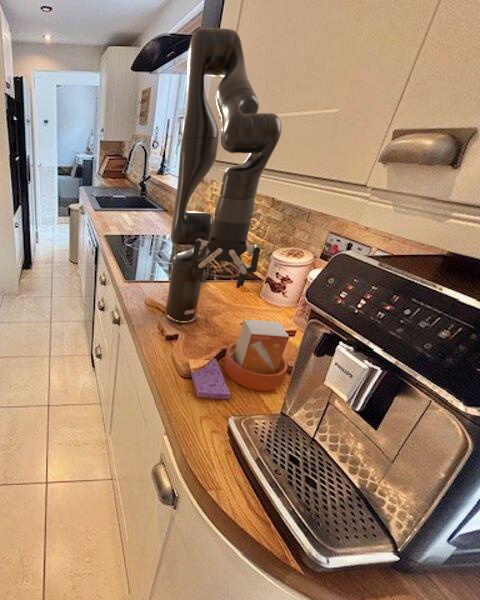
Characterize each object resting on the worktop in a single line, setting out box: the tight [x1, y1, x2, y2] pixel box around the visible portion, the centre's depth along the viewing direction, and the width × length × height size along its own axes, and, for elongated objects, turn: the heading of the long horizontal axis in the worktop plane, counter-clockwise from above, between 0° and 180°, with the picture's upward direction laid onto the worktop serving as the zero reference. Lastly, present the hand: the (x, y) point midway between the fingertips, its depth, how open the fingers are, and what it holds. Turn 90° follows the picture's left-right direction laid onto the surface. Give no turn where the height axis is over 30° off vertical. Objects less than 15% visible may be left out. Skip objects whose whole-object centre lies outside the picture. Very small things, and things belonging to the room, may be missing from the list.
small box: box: [233, 319, 290, 375], centre depth 77 cm, size 8×6×13 cm
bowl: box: [222, 341, 289, 392], centre depth 79 cm, size 13×13×5 cm
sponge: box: [189, 358, 231, 400], centre depth 78 cm, size 7×13×2 cm, turn 174°
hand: (218, 283), depth 79 cm, fingers open, 8 cm apart
